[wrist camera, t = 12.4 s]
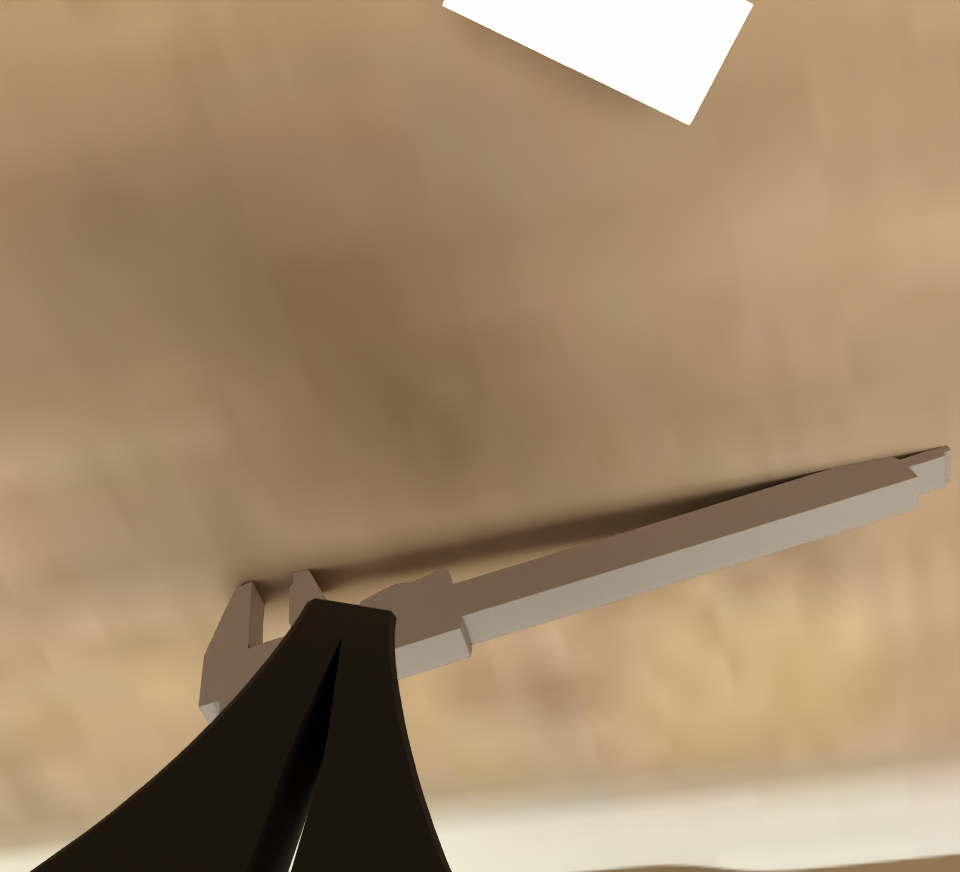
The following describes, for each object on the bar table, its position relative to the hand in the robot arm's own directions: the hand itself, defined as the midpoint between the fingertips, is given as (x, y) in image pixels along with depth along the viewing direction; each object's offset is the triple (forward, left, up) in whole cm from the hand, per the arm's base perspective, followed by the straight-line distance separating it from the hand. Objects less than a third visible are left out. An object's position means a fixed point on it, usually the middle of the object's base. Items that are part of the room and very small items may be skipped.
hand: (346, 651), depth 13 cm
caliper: (+6, -2, -10) cm, 12 cm away
